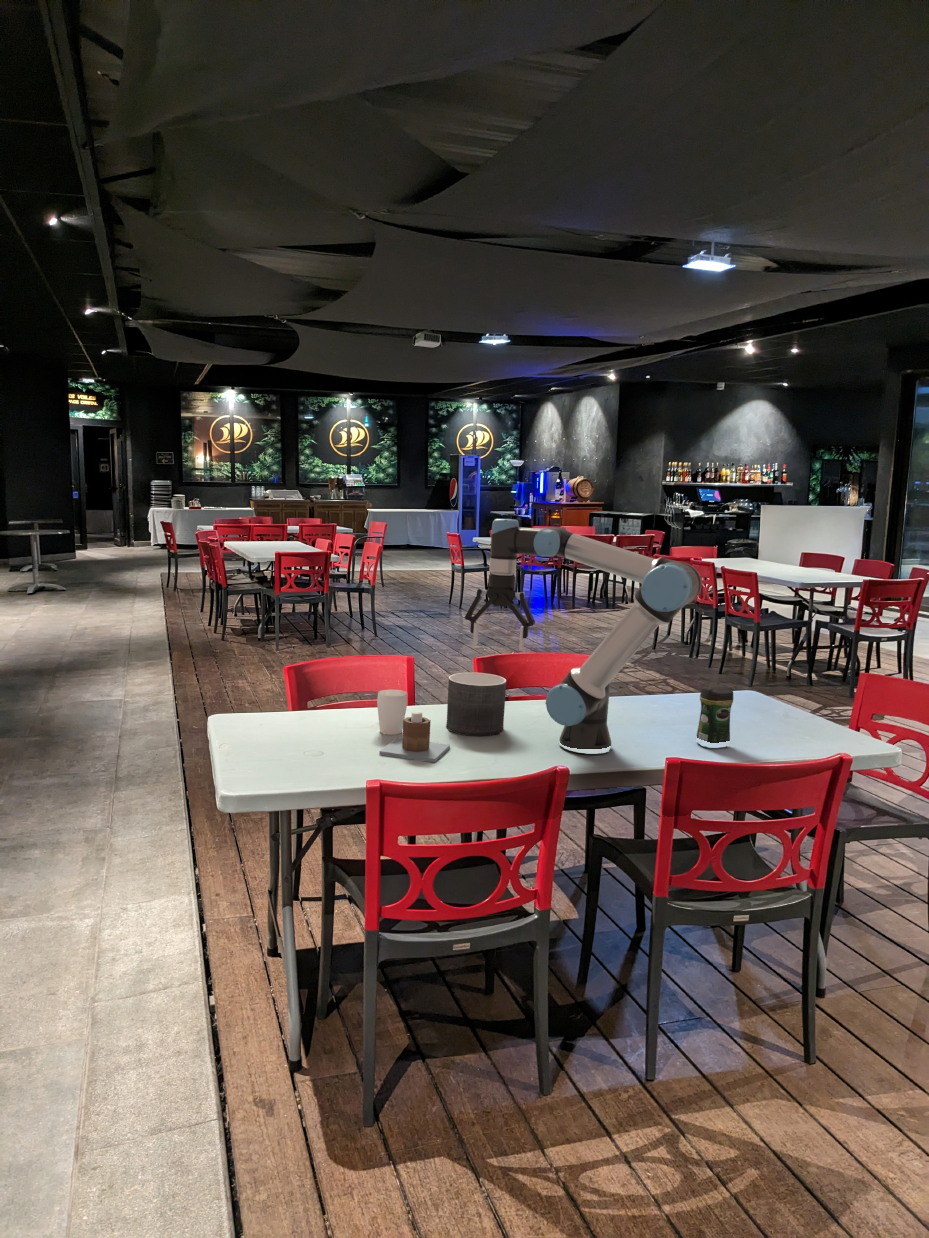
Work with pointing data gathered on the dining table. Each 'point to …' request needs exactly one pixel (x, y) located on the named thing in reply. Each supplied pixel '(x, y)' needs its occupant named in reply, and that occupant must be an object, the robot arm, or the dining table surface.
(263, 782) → the dining table surface
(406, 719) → the collar
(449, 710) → the planter
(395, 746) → the post block
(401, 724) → the cup
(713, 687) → the coffee jar
